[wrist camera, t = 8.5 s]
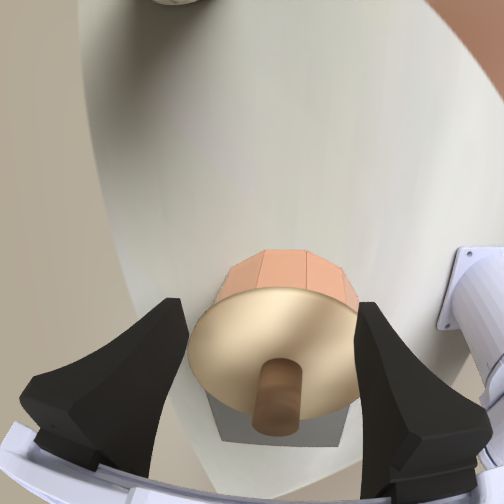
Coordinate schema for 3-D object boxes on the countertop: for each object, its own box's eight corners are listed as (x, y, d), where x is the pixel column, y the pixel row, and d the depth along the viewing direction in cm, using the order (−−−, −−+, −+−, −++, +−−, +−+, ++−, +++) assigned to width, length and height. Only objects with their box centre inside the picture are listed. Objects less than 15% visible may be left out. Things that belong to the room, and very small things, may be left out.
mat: (356, 371, 28) (356, 376, 28) (337, 442, 35) (337, 446, 35) (201, 366, 31) (199, 370, 30) (222, 437, 38) (221, 440, 37)
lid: (407, 308, 18) (428, 373, 13) (339, 421, 24) (339, 473, 20) (194, 265, 19) (162, 325, 14) (189, 393, 25) (171, 444, 21)
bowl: (363, 250, 22) (375, 292, 18) (348, 358, 27) (351, 402, 23) (209, 250, 24) (189, 289, 20) (228, 354, 29) (216, 397, 25)
